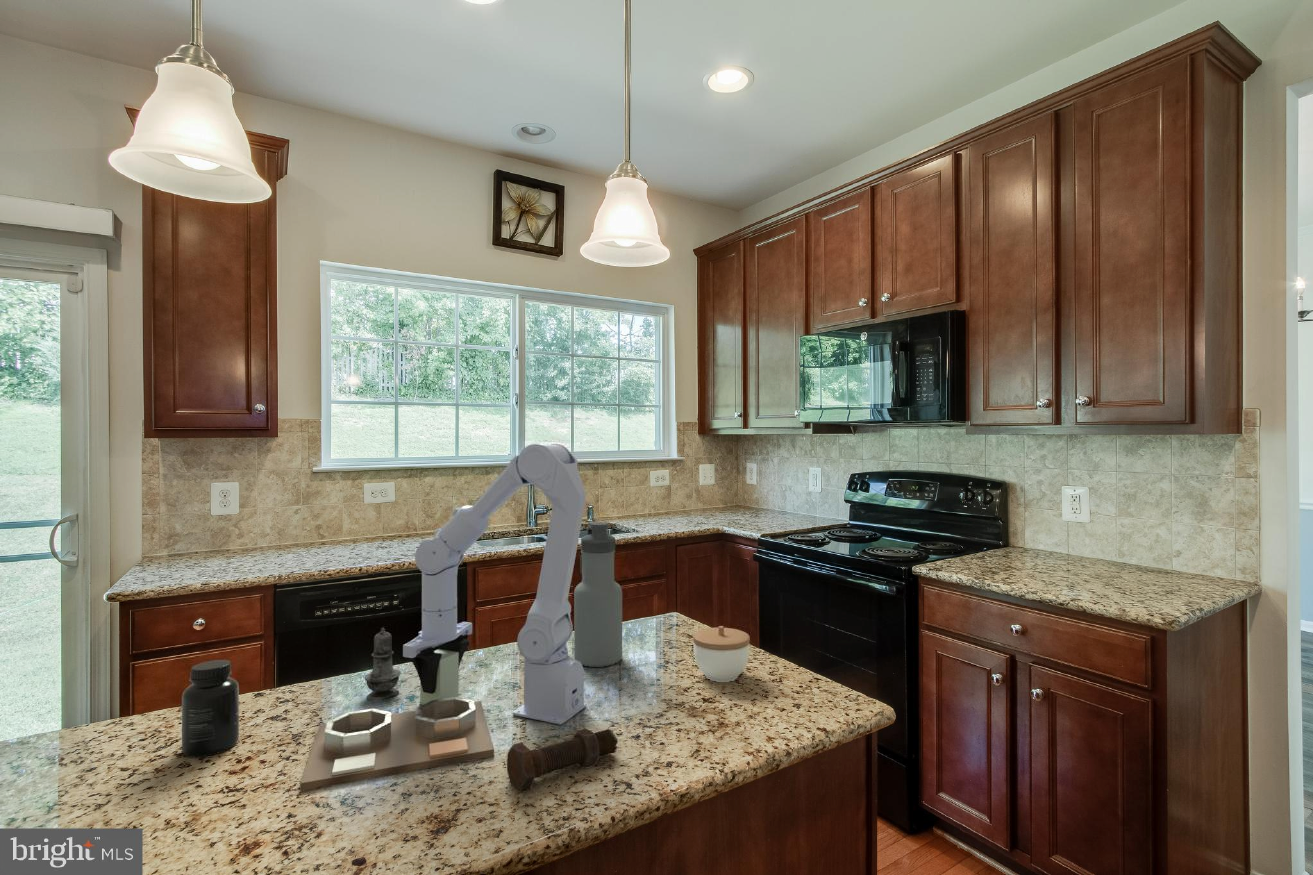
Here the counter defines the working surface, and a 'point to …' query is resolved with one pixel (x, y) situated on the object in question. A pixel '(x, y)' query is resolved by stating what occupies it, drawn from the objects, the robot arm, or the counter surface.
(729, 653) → the lidded jar
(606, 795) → the counter surface
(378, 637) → the salt shaker
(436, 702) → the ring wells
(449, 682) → the sage plug
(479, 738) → the walnut board
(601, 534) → the water bottle
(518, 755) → the bolt
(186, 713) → the supplement bottle
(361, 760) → the tags
